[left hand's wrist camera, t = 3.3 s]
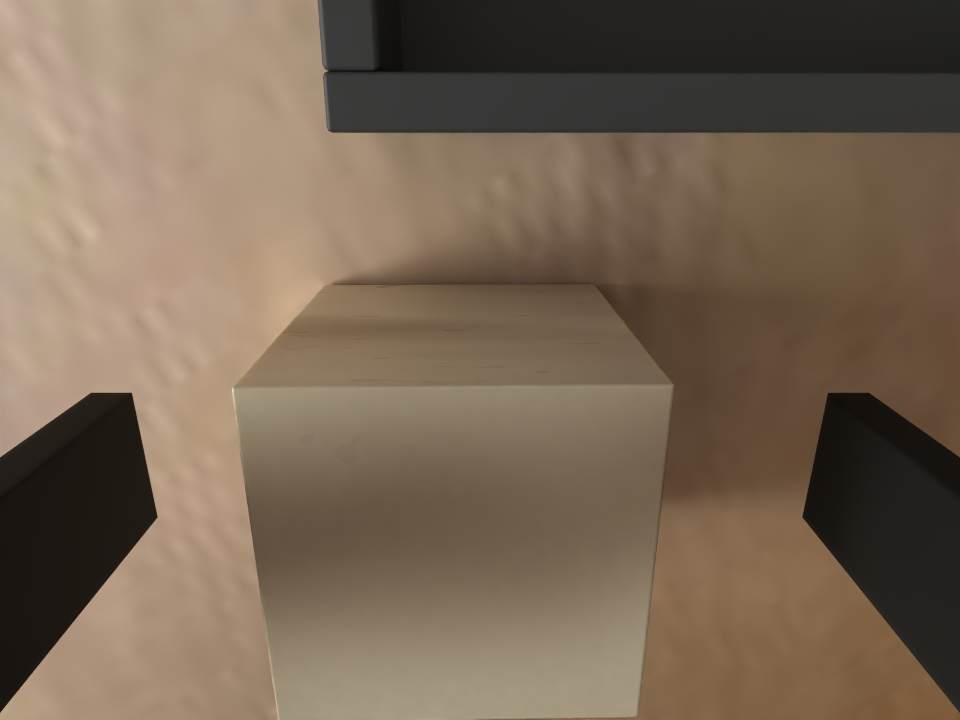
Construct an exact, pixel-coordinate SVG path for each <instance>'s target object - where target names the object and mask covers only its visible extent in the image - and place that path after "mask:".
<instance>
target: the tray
mask: <svg viewBox="0 0 960 720" xmlns="http://www.w3.org/2000/svg"><path fill="white" fill-rule="evenodd" d="M318 10H319V23H320V36H321V50H322V63H323V66H324V68H325V69H326V70H328V72H325V73H324V76H323V81H324V94H325V108H326V121H327V128H328V131H330V132H332V133H454V132H960V0H318Z"/></svg>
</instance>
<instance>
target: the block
mask: <svg viewBox="0 0 960 720" xmlns="http://www.w3.org/2000/svg"><path fill="white" fill-rule="evenodd" d="M673 396H674V384H673V383H672V382H671V381H670V379H669V378H668V377H667V376H666V374H665V373H664V372H663V370H662V369H661V368H660V367H659V365H658V364H657V363H656V362H655V360H654V359H653V358H652V357H651V355H650V354H649V353H648V352H647V350H646V349H645V348H644V347H643V345H642V344H641V343H640V342H639V340H638V339H637V338H636V337H635V335H634V334H633V333H632V332H631V330H630V329H629V328H628V326H627V325H626V324H625V323H624V321H623V320H622V319H621V318H620V316H619V315H618V314H617V313H616V311H615V310H614V309H613V308H612V306H611V305H610V304H609V303H608V301H607V300H606V299H605V298H604V296H603V295H602V294H601V293H600V291H599V290H598V289H597V288H596V286H595V285H594V284H463V285H325V286H323V288H322V289H321V290H320V291H319V292H318V293H317V294H316V295H315V296H314V298H313V299H312V300H311V301H310V302H309V303H308V304H307V305H306V306H305V307H304V309H303V310H302V311H301V312H300V313H299V314H298V315H297V316H296V317H295V319H294V320H293V321H292V322H291V323H290V324H289V325H288V326H287V327H286V328H285V330H284V331H283V332H282V333H281V334H280V335H279V336H278V337H277V338H276V340H275V341H274V342H273V343H272V344H271V345H270V346H269V347H268V348H267V349H266V351H265V352H264V353H263V354H262V355H261V356H260V357H259V358H258V359H257V361H256V362H255V363H254V364H253V365H252V366H251V367H250V368H249V369H248V370H247V372H246V373H245V374H244V375H243V376H242V377H241V378H240V379H239V380H238V382H237V383H236V384H235V385H234V386H233V387H232V397H233V404H234V411H235V419H236V426H237V433H238V440H239V447H240V454H241V461H242V468H243V475H244V482H245V489H246V496H247V503H248V511H249V518H250V525H251V532H252V539H253V546H254V553H255V560H256V567H257V574H258V581H259V588H260V595H261V602H262V610H263V617H264V624H265V631H266V638H267V645H268V652H269V659H270V666H271V673H272V680H273V687H274V694H275V702H276V709H277V716H278V720H475V719H543V718H610V717H637V716H638V713H639V704H640V695H641V686H642V677H643V668H644V659H645V650H646V641H647V632H648V623H649V614H650V605H651V596H652V586H653V577H654V568H655V559H656V550H657V541H658V532H659V523H660V514H661V505H662V496H663V487H664V478H665V469H666V459H667V450H668V441H669V432H670V423H671V414H672V405H673Z"/></svg>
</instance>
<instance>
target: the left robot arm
mask: <svg viewBox="0 0 960 720" xmlns="http://www.w3.org/2000/svg"><path fill="white" fill-rule="evenodd" d="M156 519H157V512H156V508H155V503H154V498H153V493H152V488H151V483H150V478H149V474H148V469H147V464H146V459H145V454H144V449H143V445H142V440H141V435H140V430H139V425H138V420H137V415H136V411H135V406H134V401H133V396H132V393H90V394H89V395H88V396H86V397H85V398H83V399H82V400H80V401H79V402H78V403H76V404H75V405H73V406H72V407H71V408H69V409H68V410H66V411H65V412H64V413H62V414H61V415H59V416H58V417H57V418H55V419H54V420H52V421H51V422H50V423H48V424H47V425H45V426H44V427H42V428H41V429H40V430H38V431H37V432H35V433H34V434H33V435H31V436H30V437H28V438H27V439H26V440H24V441H23V442H21V443H20V444H19V445H17V446H16V447H14V448H13V449H11V450H10V451H9V452H7V453H6V454H4V455H3V456H2V457H0V712H1V711H2V710H3V709H4V707H5V706H6V705H7V704H8V702H9V701H10V700H11V699H12V697H13V696H14V695H15V694H16V692H17V691H18V690H19V689H20V687H21V686H22V685H23V684H24V682H25V681H26V680H27V679H28V678H29V676H30V675H31V674H32V673H33V671H34V670H35V669H36V668H37V666H38V665H39V664H40V663H41V661H42V660H43V659H44V658H45V656H46V655H47V654H48V653H49V651H50V650H51V649H52V648H53V646H54V645H55V644H56V643H57V641H58V640H59V639H60V638H61V637H62V635H63V634H64V633H65V632H66V630H67V629H68V628H69V627H70V625H71V624H72V623H73V622H74V620H75V619H76V618H77V617H78V615H79V614H80V613H81V612H82V610H83V609H84V608H85V607H86V605H87V604H88V603H89V602H90V601H91V599H92V598H93V597H94V596H95V594H96V593H97V592H98V591H99V589H100V588H101V587H102V586H103V584H104V583H105V582H106V581H107V579H108V578H109V577H110V576H111V574H112V573H113V572H114V571H115V569H116V568H117V567H118V566H119V564H120V563H121V562H122V561H123V560H124V558H125V557H126V556H127V555H128V553H129V552H130V551H131V550H132V548H133V547H134V546H135V545H136V543H137V542H138V541H139V540H140V538H141V537H142V536H143V535H144V533H145V532H146V531H147V530H148V528H149V527H150V526H151V525H152V524H153V522H154V521H155V520H156ZM803 519H804V520H805V521H806V522H807V524H808V525H809V526H810V527H811V528H812V530H813V531H814V532H815V533H816V535H817V536H818V537H819V538H820V540H821V541H822V542H823V543H824V545H825V546H826V547H827V548H828V550H829V551H830V552H831V553H832V555H833V556H834V557H835V558H836V560H837V561H838V562H839V563H840V564H841V566H842V567H843V568H844V569H845V571H846V572H847V573H848V574H849V576H850V577H851V578H852V579H853V581H854V582H855V583H856V584H857V586H858V587H859V588H860V589H861V591H862V592H863V593H864V594H865V596H866V597H867V598H868V599H869V601H870V602H871V603H872V604H873V605H874V607H875V608H876V609H877V610H878V612H879V613H880V614H881V615H882V617H883V618H884V619H885V620H886V622H887V623H888V624H889V625H890V627H891V628H892V629H893V630H894V632H895V633H896V634H897V635H898V637H899V638H900V639H901V640H902V641H903V643H904V644H905V645H906V646H907V648H908V649H909V650H910V651H911V653H912V654H913V655H914V656H915V658H916V659H917V660H918V661H919V663H920V664H921V665H922V666H923V668H924V669H925V670H926V671H927V673H928V674H929V675H930V676H931V678H932V679H933V680H934V681H935V682H936V684H937V685H938V686H939V687H940V689H941V690H942V691H943V692H944V694H945V695H946V696H947V697H948V699H949V700H950V701H951V702H952V704H953V705H954V706H955V707H956V709H957V710H958V711H959V712H960V457H958V456H957V455H956V454H954V453H953V452H951V451H950V450H949V449H947V448H946V447H944V446H943V445H941V444H940V443H939V442H937V441H936V440H934V439H933V438H932V437H930V436H929V435H927V434H926V433H925V432H923V431H922V430H920V429H919V428H918V427H916V426H915V425H913V424H912V423H910V422H909V421H908V420H906V419H905V418H903V417H902V416H901V415H899V414H898V413H896V412H895V411H894V410H892V409H891V408H889V407H888V406H887V405H885V404H884V403H882V402H881V401H880V400H878V399H877V398H875V397H874V396H872V395H871V394H870V393H828V396H827V401H826V406H825V411H824V415H823V420H822V425H821V430H820V435H819V440H818V445H817V449H816V454H815V459H814V464H813V469H812V474H811V478H810V483H809V488H808V493H807V498H806V503H805V508H804V512H803Z"/></svg>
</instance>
